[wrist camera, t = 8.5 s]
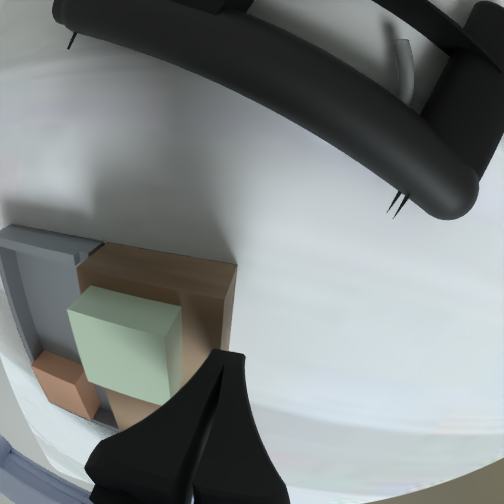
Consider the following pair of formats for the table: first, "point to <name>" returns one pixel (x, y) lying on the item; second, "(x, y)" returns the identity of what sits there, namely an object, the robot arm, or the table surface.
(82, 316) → the sage tile
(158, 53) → the door handle
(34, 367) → the terracotta block
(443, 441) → the table surface
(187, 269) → the walnut ledge
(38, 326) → the charcoal tray
